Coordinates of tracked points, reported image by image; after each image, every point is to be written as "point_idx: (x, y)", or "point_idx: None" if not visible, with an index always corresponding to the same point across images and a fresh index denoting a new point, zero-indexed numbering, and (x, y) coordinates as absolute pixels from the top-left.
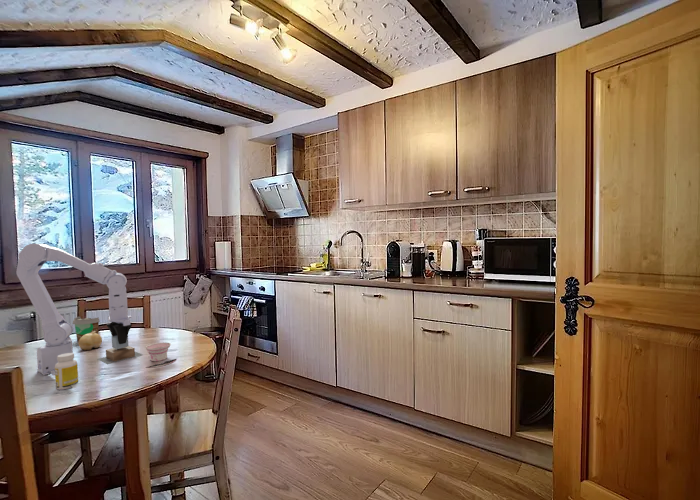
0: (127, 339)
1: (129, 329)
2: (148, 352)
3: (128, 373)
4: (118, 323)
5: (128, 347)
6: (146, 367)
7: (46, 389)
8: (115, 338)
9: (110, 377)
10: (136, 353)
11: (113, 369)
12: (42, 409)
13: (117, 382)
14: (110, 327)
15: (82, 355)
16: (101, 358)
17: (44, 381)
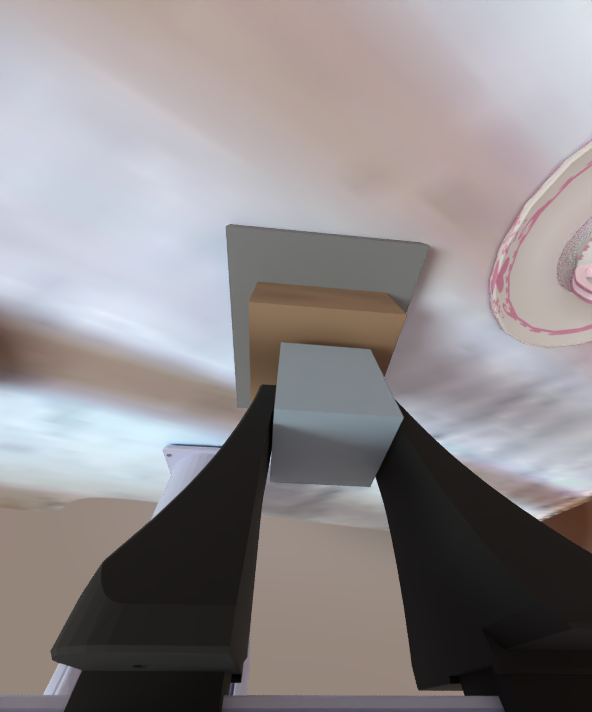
0: (387, 393)
1: (527, 514)
2: (579, 291)
3: (532, 402)
4: (242, 639)
5: (340, 329)
6: (586, 339)
7: (378, 516)
8: (356, 481)
9: (486, 440)
10: (341, 255)
11: (420, 407)
12: None
13: (553, 447)
14: (251, 605)
15: (56, 389)
16: (247, 395)
17: (309, 507)
